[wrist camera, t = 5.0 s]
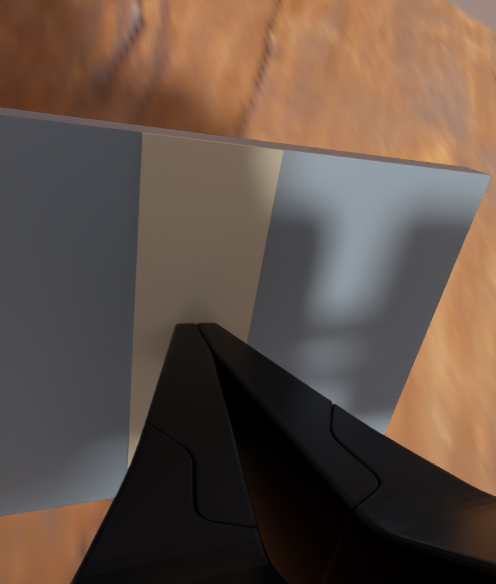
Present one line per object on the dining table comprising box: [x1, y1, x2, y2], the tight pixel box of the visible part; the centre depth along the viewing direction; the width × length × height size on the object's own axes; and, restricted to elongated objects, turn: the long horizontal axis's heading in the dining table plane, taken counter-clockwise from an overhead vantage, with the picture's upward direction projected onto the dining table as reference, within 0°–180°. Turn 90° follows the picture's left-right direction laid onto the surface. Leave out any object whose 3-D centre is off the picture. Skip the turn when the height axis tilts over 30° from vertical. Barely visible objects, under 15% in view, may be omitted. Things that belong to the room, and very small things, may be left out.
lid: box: [0, 107, 491, 516], centre depth 9 cm, size 9×12×1 cm
